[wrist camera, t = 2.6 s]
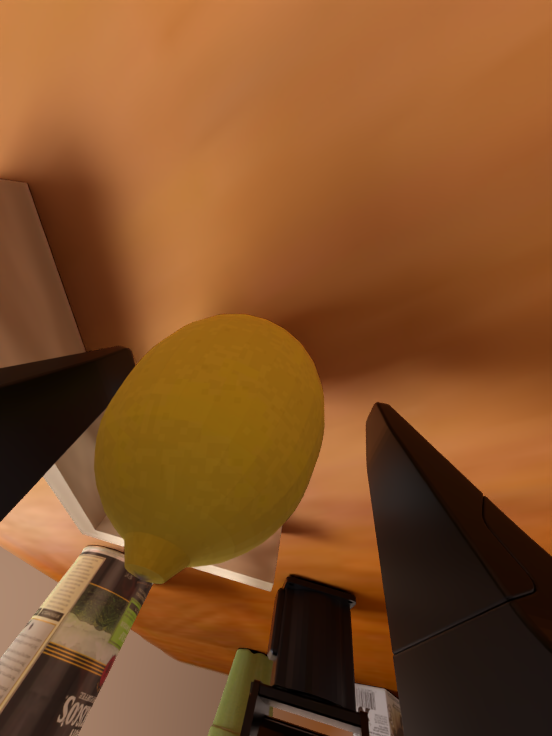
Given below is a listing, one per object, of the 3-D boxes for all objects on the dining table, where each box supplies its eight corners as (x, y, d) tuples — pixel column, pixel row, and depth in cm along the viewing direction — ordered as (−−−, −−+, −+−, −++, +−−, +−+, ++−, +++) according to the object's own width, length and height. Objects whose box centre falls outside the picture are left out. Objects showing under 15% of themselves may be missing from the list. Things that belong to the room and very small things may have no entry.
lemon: (324, 281, 8) (309, 495, 2) (326, 402, 11) (323, 669, 4) (188, 294, 10) (-136, 443, 3) (220, 400, 12) (90, 605, 6)
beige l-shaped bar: (368, 234, 7) (394, 238, 4) (279, 533, 18) (270, 591, 16) (-9, 177, 9) (-179, 151, 6) (118, 488, 20) (82, 534, 17)
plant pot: (295, 662, 41) (286, 793, 31) (274, 668, 47) (261, 778, 38) (232, 638, 41) (203, 763, 31) (220, 647, 47) (193, 753, 38)
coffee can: (151, 560, 28) (19, 807, 16) (160, 588, 33) (67, 788, 21) (73, 535, 29) (-108, 753, 17) (94, 567, 34) (-30, 747, 22)
